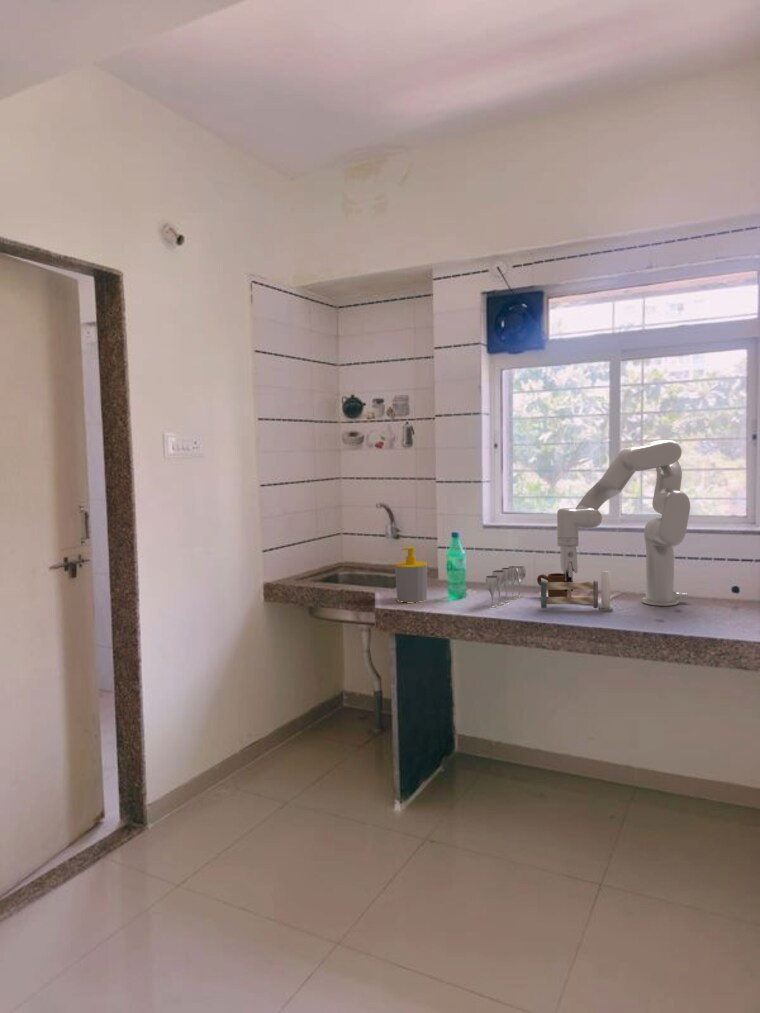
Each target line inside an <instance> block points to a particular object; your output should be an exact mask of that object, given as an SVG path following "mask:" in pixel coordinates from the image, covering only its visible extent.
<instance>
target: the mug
mask: <svg viewBox="0 0 760 1013" xmlns="http://www.w3.org/2000/svg"><path fill="white" fill-rule="evenodd" d="M542 579H544V581H545V580H546V582H563V580H564V573H563V572H562V573H561V572H560V573H559V572H557V573H555V572H554V573H548V575H546V574H539V575H538V576H537V578H536V580H537V584H538V585H539V586H540V587H541V581H542ZM547 597H567V591H564V590H547Z"/></svg>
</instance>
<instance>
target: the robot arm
mask: <svg viewBox="0 0 760 1013" xmlns="http://www.w3.org/2000/svg"><path fill="white" fill-rule="evenodd" d="M681 456H682V448H681V446H680V444H679V443H678V442H676V441H674V440H668V439H667V440H654V441H652V442H649V443H648V445H645V446H643V445H642V446H637V447H626V448H623V449H622V450H621V451H619V453H618V454H617V455H616V457H615V458H614V460H613V461H612V462H611V464H610V465H609V467H608V468H607V469H606V471H605V472H604V474H603V475H602V476H601V478H600V479H599V480H598V481H597V482H596V483H595V484H594V485H593V486H592V487H591V488H589V490H588V491H587V492H586V493H585V495H583V497H582V498H581V499H580V501H579V503H578V504H577V505H576V507H575V508H573V507H572V508H571V507H564V508H559V509H558V510H557V513H556V518H557V519H556V521H557V522H556V523H557V524H556V525H557V527H556V528H557V529H556V531H557V532H556V533H557V534H556V535H557V538H556V539H557V547H560V553H559V554H560V569H561V571H562V573H563V574H564V580H563V582H574V578H573V576H574V574H577V573H578V568H579V567H578V555H577V554H578V553H577V552H578V551H577V547H579V544H580V543H579V528H581V529H594V528H597V527H599V526H600V525H601V523H602V521H603V516H602V513H601V512H600V511H599V509H600V508H601V507H602V505H603V504H604V503H605V502H607V501H608V500H610V499H611V498H614V497H616V496H618V495H619V494H620V493H621V492H622V491H623V490H624V488H625V487H626V486H627V483H629V481H630V479H631V478H632V476H633V475H634V474H635V473H636V472H642V471H647V470H652V469H655V471H656V480H655V487H654V492H653V497H652V503H651V505H652V508H653V510H654V511H655V512H656V513H658V514H661V517H654V518H651V519H650V520H649V521H647V523H646V524H645V526H644V529H643V536H644V543H645V552H646V553H645V554H646V555H645V556H646V557H645V558H646V559H645V564H646V566H645V572H646V574H645V576H646V577H645V578H646V579H645V585H646V586H645V590H646V591H645V596H644V597H641V602H642V603H644V604H646V605H650V606H659V607H667V606H670V607H671V606H677V605H678V604H679V599H688V598H689V595H688V592H681V591H680V592H678V591H676V590H675V580H674V579H675V577H674V576H675V573H674V572H675V554H674V547H677V546H679V545H680V544H682V542H684V539H685V537H686V533H687V528H688V524H689V518H690V512H691V511H690V510H691V500H690V498H689V497H688V495H687V494H686V493H685V492H683V491H682V490H681V486H682V480H683V478H682V477H683V476H682V475H683V472H682V467H681V464H680V462H679V460H680V459H681ZM564 591H567V589H565V590H564ZM573 591H574V589H571V592H573Z"/></svg>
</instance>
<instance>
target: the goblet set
mask: <svg viewBox="0 0 760 1013" xmlns="http://www.w3.org/2000/svg"><path fill="white" fill-rule="evenodd" d="M526 577H527V570H526V567H525V566H523V565H522V566H520V565H518V566H516V565H515V566H514V565H510V566H508V567H502V568H501V570H500V569H497V570H492V573H491V575H487V576H485V586H486V589H487V590H488V592H489V594H490V596H491V597H490V598H491V606H488V607H489V608H496V607H497V606H503V605H504V604H506V603H507V604H511V603H510V602H511V601H510V600H516V601H518V600H517V599H523V598H522V597H524V596H525V595H521V591H520V589H521V583H522V582H523V581H524V579H525V578H526ZM515 582H516V583H517V585H518V595H514V585H515ZM509 583H511V593H512V598H508V596H507V595H508V593H507V592H508V586H509ZM503 587H504V589H505V601H503V600H502V602H503V603H501V591H502V589H503ZM496 590H497V591H498V603H495V605H497V606H493V605H494V595H495V592H496ZM514 597H518V598H514ZM508 599H509V600H508ZM503 607H504V606H503Z"/></svg>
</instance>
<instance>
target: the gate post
mask: <svg viewBox="0 0 760 1013" xmlns="http://www.w3.org/2000/svg"><path fill="white" fill-rule="evenodd" d="M600 574H601V575H600V580H601V581H600V582H601V583H600V584H601V585H600V586H601V587H600V592H601V593H600V594H601V598H600V599H601V600H600V602H601V605H598V610H599V609H600V610H599V612H601V613H613V612H614V609H613V607H612V606H611V571H609V570H601V572H600Z"/></svg>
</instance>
